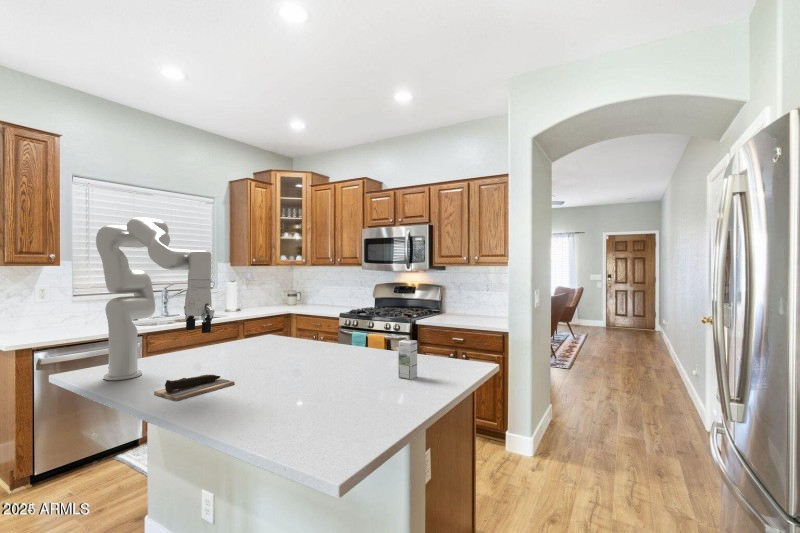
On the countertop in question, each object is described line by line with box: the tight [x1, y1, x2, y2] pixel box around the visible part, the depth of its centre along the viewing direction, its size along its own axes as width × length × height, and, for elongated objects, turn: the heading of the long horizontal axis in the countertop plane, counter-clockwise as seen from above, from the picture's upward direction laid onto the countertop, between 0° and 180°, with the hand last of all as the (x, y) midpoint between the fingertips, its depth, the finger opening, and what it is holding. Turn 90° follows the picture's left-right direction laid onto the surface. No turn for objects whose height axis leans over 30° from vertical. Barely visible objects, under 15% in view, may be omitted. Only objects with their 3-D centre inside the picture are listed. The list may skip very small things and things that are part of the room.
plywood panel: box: [153, 377, 235, 402], centre depth 145 cm, size 13×22×1 cm, turn 149°
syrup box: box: [397, 339, 418, 380], centre depth 161 cm, size 6×6×14 cm
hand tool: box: [164, 374, 221, 392], centre depth 146 cm, size 19×4×5 cm
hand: (198, 331), depth 148 cm, fingers open, 9 cm apart
